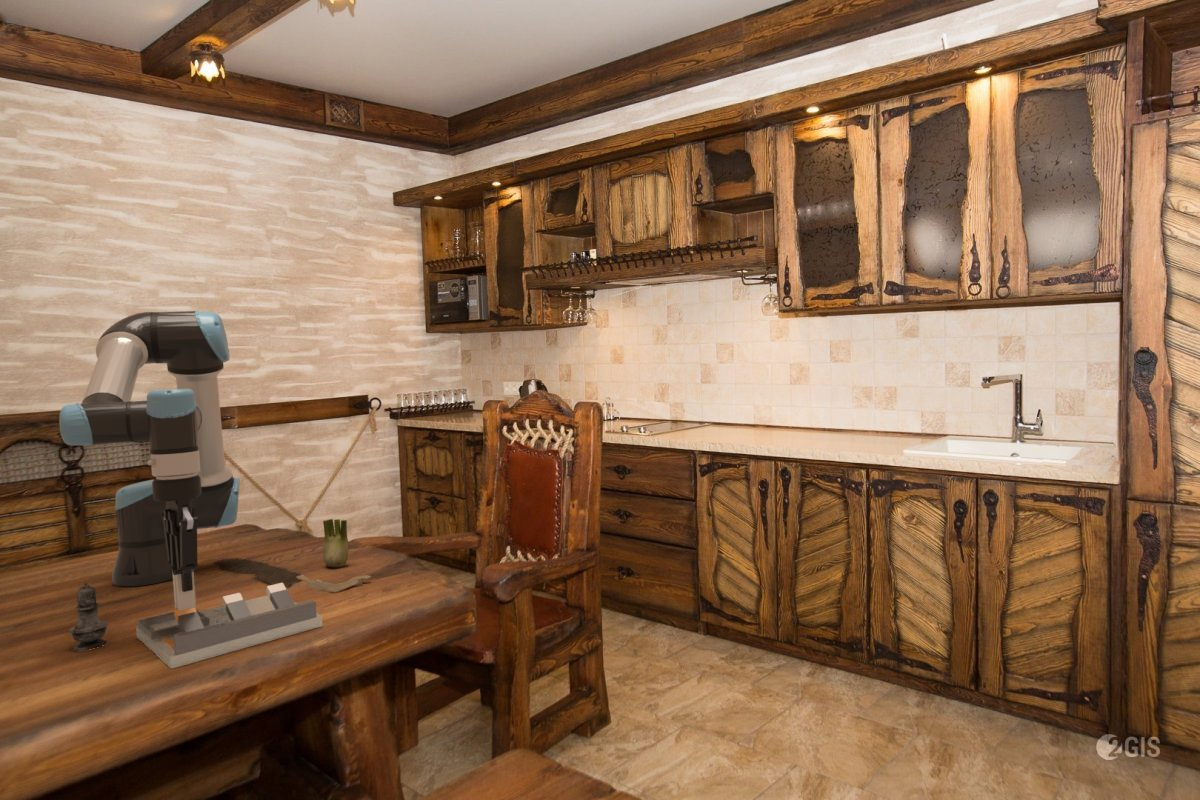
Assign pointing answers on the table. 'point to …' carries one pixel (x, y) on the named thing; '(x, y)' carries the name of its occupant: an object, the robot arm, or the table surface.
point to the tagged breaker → (188, 620)
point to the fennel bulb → (335, 543)
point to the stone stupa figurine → (88, 621)
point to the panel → (224, 630)
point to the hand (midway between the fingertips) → (185, 607)
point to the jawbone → (333, 587)
